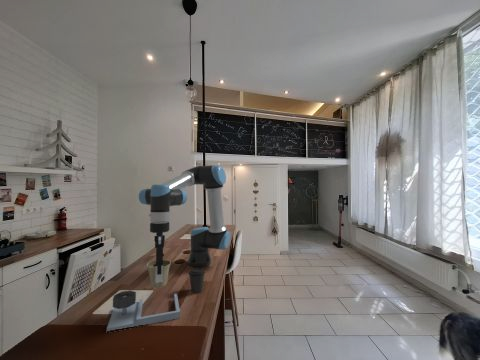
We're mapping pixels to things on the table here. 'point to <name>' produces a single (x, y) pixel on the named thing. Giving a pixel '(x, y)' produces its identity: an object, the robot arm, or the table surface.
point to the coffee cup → (196, 280)
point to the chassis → (139, 316)
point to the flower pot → (152, 273)
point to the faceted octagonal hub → (124, 299)
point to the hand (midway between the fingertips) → (159, 277)
